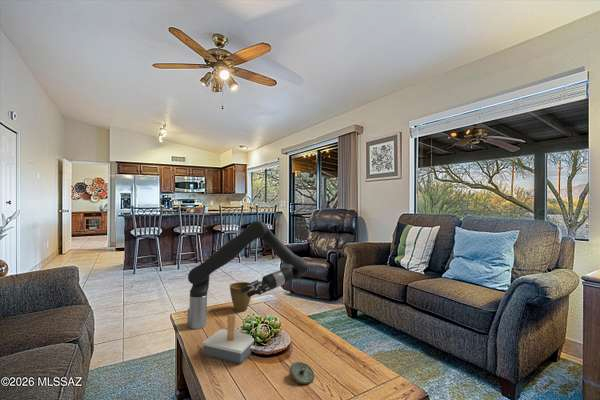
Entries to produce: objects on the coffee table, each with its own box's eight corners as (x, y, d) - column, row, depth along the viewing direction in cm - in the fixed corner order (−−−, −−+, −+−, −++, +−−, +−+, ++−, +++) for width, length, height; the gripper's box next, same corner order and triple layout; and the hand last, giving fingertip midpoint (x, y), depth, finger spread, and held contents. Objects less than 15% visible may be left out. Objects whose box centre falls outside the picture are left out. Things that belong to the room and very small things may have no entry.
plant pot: (254, 306, 193) (255, 282, 193) (248, 315, 179) (249, 289, 179) (233, 304, 195) (234, 281, 195) (225, 313, 180) (226, 287, 180)
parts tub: (203, 355, 131) (203, 344, 131) (221, 341, 144) (221, 331, 144) (240, 364, 125) (240, 353, 125) (255, 349, 138) (255, 338, 138)
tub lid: (202, 348, 131) (203, 318, 131) (221, 334, 145) (222, 307, 145) (240, 357, 124) (242, 325, 124) (256, 341, 139) (257, 313, 139)
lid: (300, 367, 125) (300, 355, 125) (319, 376, 118) (319, 364, 118) (284, 378, 116) (284, 366, 116) (303, 389, 110) (303, 376, 110)
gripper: (266, 271, 151) (237, 282, 143) (278, 275, 139) (247, 288, 131) (269, 284, 152) (240, 297, 143) (282, 290, 140) (251, 304, 131)
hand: (244, 293), depth 137 cm, fingers open, 8 cm apart
